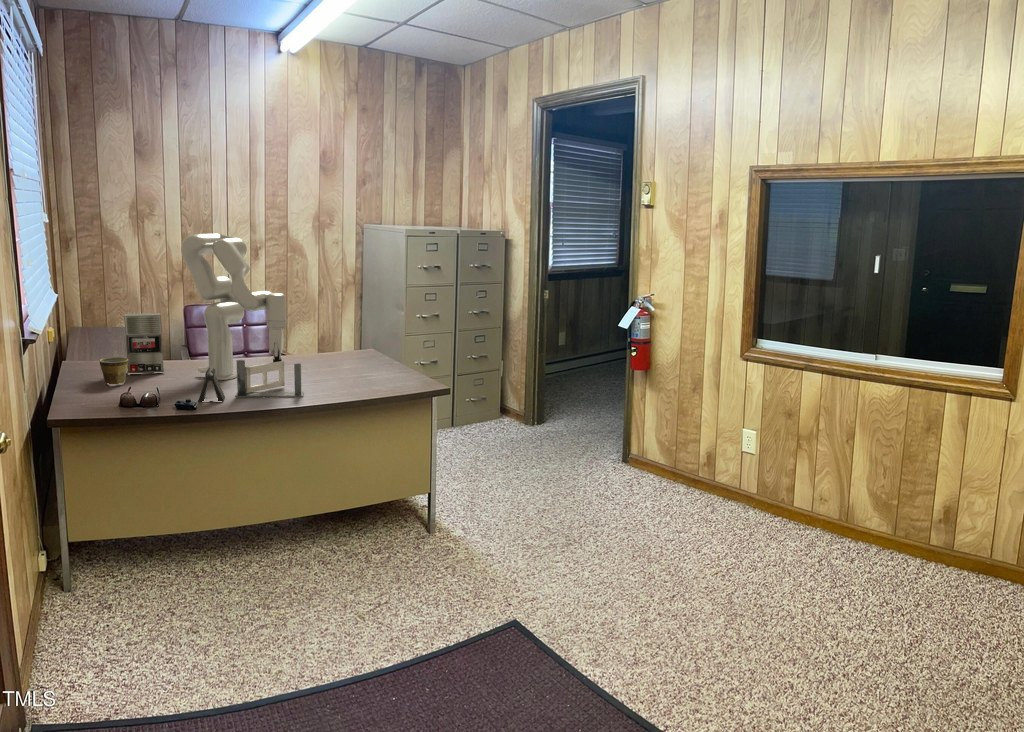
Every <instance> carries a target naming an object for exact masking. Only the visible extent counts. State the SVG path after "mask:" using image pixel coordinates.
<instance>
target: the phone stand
mask: <svg viewBox="0 0 1024 732" xmlns="http://www.w3.org/2000/svg"><path fill="white" fill-rule="evenodd" d="M209 370H210V368H208V370H207V372H205V374H204V377H205V376H206V378H205V379H204V380H205V381H204V382H203V386H202V389H201V392H200V395H199V397H198V400H197V403H198V402H202V401H204V399H205V398H206V394H207V390H208V386H209V383H210V381H211V383H212V387H213V389H214V392H215V395H216V397H217V398H218V401H225V399H226V396H225V394H224V391H223V388H222V387H221V384H220V382H219V380H217V377H216V374H215V373H216V370H215V369H214V368H212V370H211V372H212V373H213V375H210V374H209V373H208V372H209Z"/></svg>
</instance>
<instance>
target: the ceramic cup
mask: <svg viewBox="0 0 1024 732" xmlns="http://www.w3.org/2000/svg"><path fill="white" fill-rule="evenodd" d="M127 365H128V359H127V357H122V356H121V357H120V356H117V357H115V356H114V357H112V356H111V357H105V358H100V359H99V366H100V369H101V372H102V375H103V380H104V383H105V382H106V383H109V384H119V383H124V382H125V383H126V377H127V371H128V367H127Z"/></svg>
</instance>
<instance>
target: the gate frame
mask: <svg viewBox="0 0 1024 732" xmlns="http://www.w3.org/2000/svg"><path fill="white" fill-rule="evenodd" d="M293 365H294V369H293V370H294V391H255V392H250V393H246V383H245V367H246V360H245V359H237V360H236V373H237V377H236V383H237V384H236V386H237V388H236V389H237V391H236V394H235V396H234V397H236V398H235V399H263V397H265V398H264V399H270V398H269V397H275V398H274V399H277V398H276V397H303V398H304V394H305V391H302V362H300V361H299V362H294V363H293ZM266 397H268V398H266Z"/></svg>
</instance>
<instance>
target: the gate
mask: <svg viewBox="0 0 1024 732" xmlns="http://www.w3.org/2000/svg"><path fill="white" fill-rule="evenodd" d="M274 371H278V380H277V381H272V382H268V372H269V373H270V372H274ZM256 374H262V384H261V383H260V384H256V385H251V384H252V383H251V382H252V381H251V375H256ZM245 383H246V393H250V392H261V391H264V390H271V389H274V388H275V389H276V388H280V387H281V388H282V387H285V384H286V383H285V361H279V362H273V361H272V362H268V363H262V364H255V365H250V366H245Z"/></svg>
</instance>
